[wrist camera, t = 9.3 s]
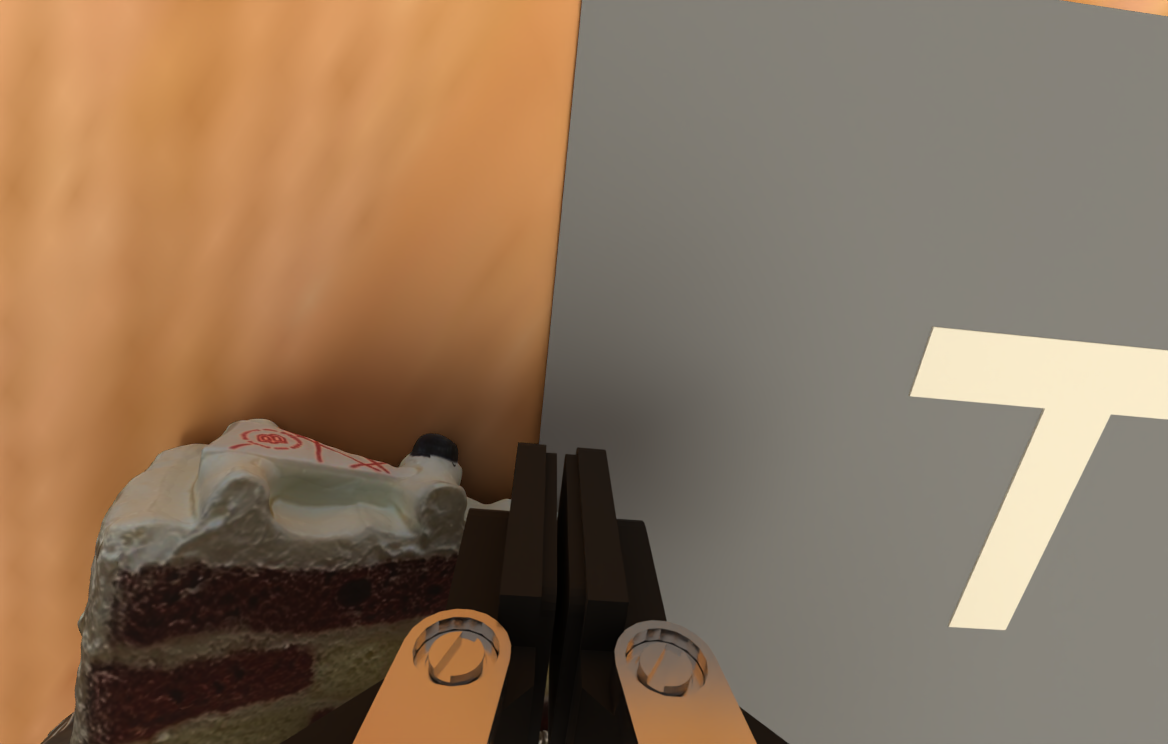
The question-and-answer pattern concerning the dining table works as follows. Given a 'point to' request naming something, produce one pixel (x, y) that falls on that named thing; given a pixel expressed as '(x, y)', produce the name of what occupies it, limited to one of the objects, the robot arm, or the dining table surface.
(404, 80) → the dining table surface
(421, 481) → the chocolate cake
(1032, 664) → the letter mat
